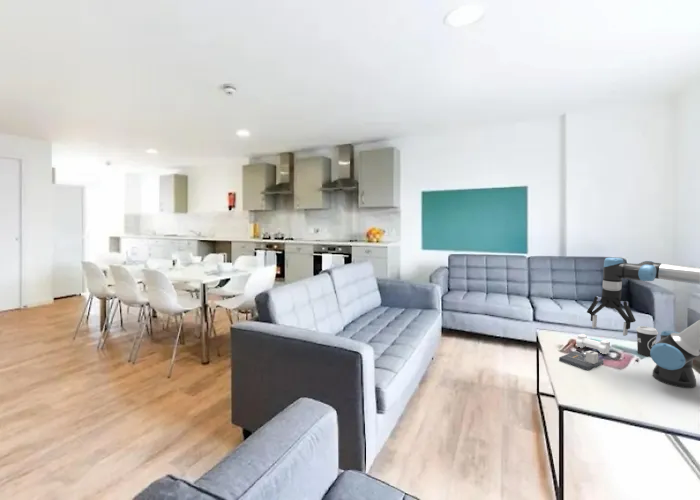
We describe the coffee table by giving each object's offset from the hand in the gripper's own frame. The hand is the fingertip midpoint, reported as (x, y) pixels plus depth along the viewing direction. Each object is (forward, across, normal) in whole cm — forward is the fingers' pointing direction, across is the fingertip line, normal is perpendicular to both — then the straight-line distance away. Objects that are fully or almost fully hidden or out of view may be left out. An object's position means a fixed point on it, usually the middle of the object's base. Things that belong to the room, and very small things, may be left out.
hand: (609, 331), depth 173 cm
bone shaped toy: (+21, +17, -23) cm, 35 cm away
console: (+20, +12, 0) cm, 24 cm away
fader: (+18, +7, 0) cm, 20 cm away
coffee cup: (+21, -1, -42) cm, 47 cm away
